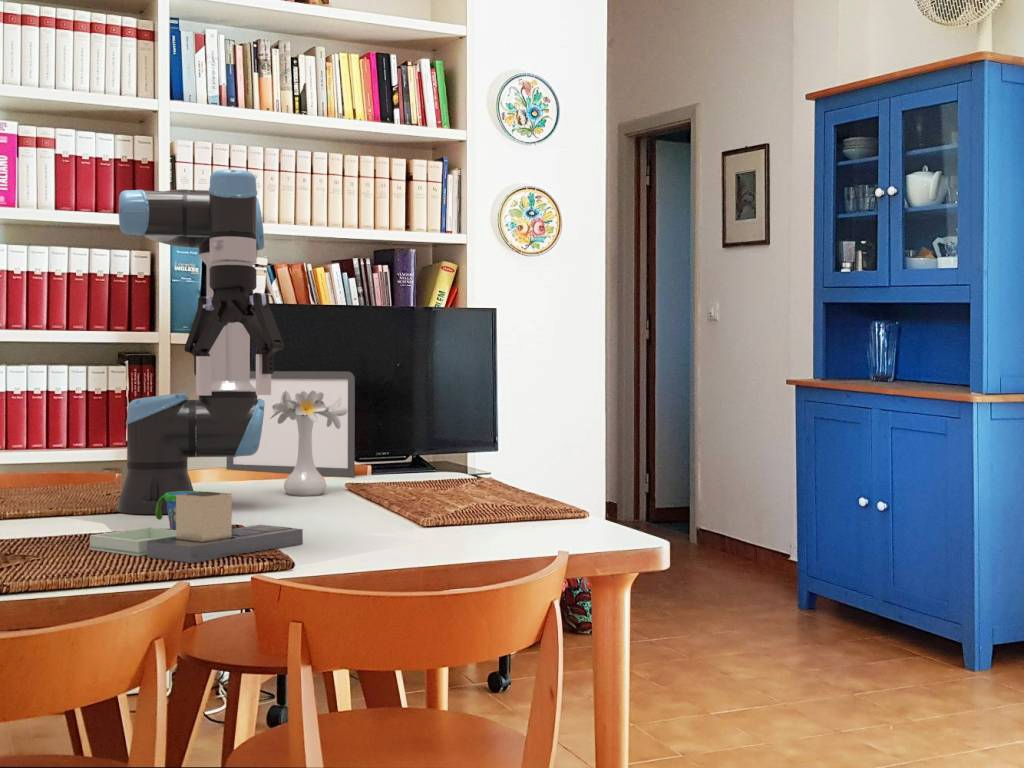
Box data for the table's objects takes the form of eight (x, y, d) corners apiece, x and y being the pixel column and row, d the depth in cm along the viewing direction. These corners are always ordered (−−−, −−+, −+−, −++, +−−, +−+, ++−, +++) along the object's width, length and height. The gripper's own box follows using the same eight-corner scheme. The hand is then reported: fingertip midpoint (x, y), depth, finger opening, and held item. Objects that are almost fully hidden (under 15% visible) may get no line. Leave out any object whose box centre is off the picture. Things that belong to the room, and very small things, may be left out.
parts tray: (89, 549, 190) (89, 535, 190) (149, 540, 200) (149, 527, 200) (138, 556, 183) (138, 541, 183) (198, 546, 193) (198, 532, 193)
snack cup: (227, 533, 210) (227, 491, 210) (203, 539, 203) (203, 496, 203) (171, 530, 214) (171, 489, 213) (146, 536, 206) (146, 493, 206)
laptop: (158, 492, 282) (158, 370, 282) (229, 482, 310) (229, 371, 309) (295, 499, 269) (295, 371, 268) (356, 487, 296) (356, 371, 296)
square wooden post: (176, 551, 185) (176, 493, 185) (205, 547, 190) (205, 490, 190) (202, 555, 181) (202, 496, 181) (231, 550, 186) (231, 492, 186)
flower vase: (354, 498, 268) (355, 389, 268) (299, 506, 253) (299, 389, 252) (311, 495, 275) (312, 388, 275) (255, 502, 260) (255, 389, 259)
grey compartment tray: (147, 557, 182) (147, 540, 182) (259, 539, 202) (260, 524, 202) (190, 563, 177) (190, 546, 177) (302, 544, 197) (302, 528, 197)
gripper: (162, 268, 196) (162, 395, 196) (272, 258, 183) (273, 394, 182) (197, 272, 202) (197, 395, 202) (305, 262, 189) (306, 394, 189)
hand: (233, 395), depth 192 cm, fingers open, 13 cm apart
